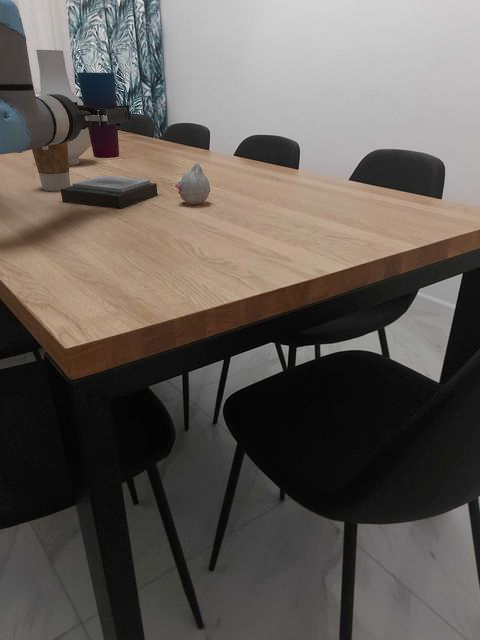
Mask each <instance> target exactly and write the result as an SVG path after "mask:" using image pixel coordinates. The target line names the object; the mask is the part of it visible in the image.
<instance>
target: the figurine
mask: <svg viewBox="0 0 480 640" xmlns="http://www.w3.org/2000/svg"><path fill="white" fill-rule="evenodd" d="M174 186H175V187H176V189H177V194H179V196H180V198H181V200H183V201H184V202H185V203H186V204H187V203H188V204H190V205H199V204H202V203H204V202H205V201H207V199H208V197H209V196H210V192H211V186H210V181H209V179H208V177H207V176H206V175H205V173H204V172H203V168H202V167H201V165H200V163H198V162H196V163H194V164H193V166H192V167H191V169H190V170H188V171H187V172H186V173H184V174H183V175H182V176H181V177H180V178H179V180H178V182H177V183H176V184H175V185H174Z"/></svg>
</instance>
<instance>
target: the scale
mask: <svg viewBox="0 0 480 640" xmlns="http://www.w3.org/2000/svg"><path fill="white" fill-rule="evenodd" d="M60 190H61V191H60V196H61V201H62V203H70V204H77V205H87V206H93V207H102V208H109V209H110V208H111V209H118V210H120V209H123V208H126V207H130V206H132V205H135V204H137V203H140V202H142V201H145V200H148V199H151V198H153V197H157V196H158V184H157V183H155V182H151V180H150V179H143V178H136V177H135V178H134V177H133V178H132V177H125V176H113V175H105V174H104V175H100V176H96V177H95V176H94V177H92V178H87V179H83V180H81V181H76V182H73V183H72V184H71V185H70V187H67V188H64V189H60Z"/></svg>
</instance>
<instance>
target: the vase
mask: <svg viewBox="0 0 480 640" xmlns="http://www.w3.org/2000/svg"><path fill="white" fill-rule="evenodd" d="M35 51H36V57H37V62H38V69H39V86H40V88H39V89H40V91H39V92H38V94H37V95H43V94H45V95H49V94H60V95H64V96H66V97H68V98H69V99H70V100H72V101H73V102H77V103H78V105H83V100H81V98H79V96H77V95H76V94H75V93H74V92H73V91H72V87H71V84H70V80H69V76H68V72H67V68H66V60H65V55H64V50H59V49H35ZM67 144H68V159H69V166H75V165H79V164H80V157H81V156H82V155H84V153H85V152H86V151H88V150H89V148H91V147H92V145H91V140H90V135H89V130H88V128H86V129H84V130H81V131H80V133H79V135H78V136H77V138H75V139H74V140H73V141H70V142H67Z"/></svg>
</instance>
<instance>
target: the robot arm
mask: <svg viewBox="0 0 480 640" xmlns="http://www.w3.org/2000/svg"><path fill="white" fill-rule="evenodd" d="M28 51H29V50H28V44H27V36H26V33H25V29H24V25H23V20H22V17H21V13H20V11H19V7H18V6H17V4H16V3H15V2H14V1H13V0H0V155H1V156H2V155H9V154H22V153H24V152H27V151H32V149H36V148H41V147H42V149H43V150H48V146H49V145H55V144H61V143H66V142H70V141H73V140H74V139H75V138H77V136H78V135H79V133H80V131H81V130H84V129H86V128H89V127H95V126H96V124H99V125H101V126H103V127H106V126H108V125H111V124H116V126H118V127H122V124H123V123H124V124H126V123H129V120H131V119H132V118H131V109H130V104H121V105H116V106H111V108H97V109H94V107H93V106H84V105H78V103H77V102H73V101H72V100H70V99H69V98H68V97H66V96H64V95H60V94H49V95H45V94H43V95H38V94H36V91H35V86H34V83H33V76H32V70H31V64H30V58H29V57H30V56H29V52H28Z"/></svg>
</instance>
